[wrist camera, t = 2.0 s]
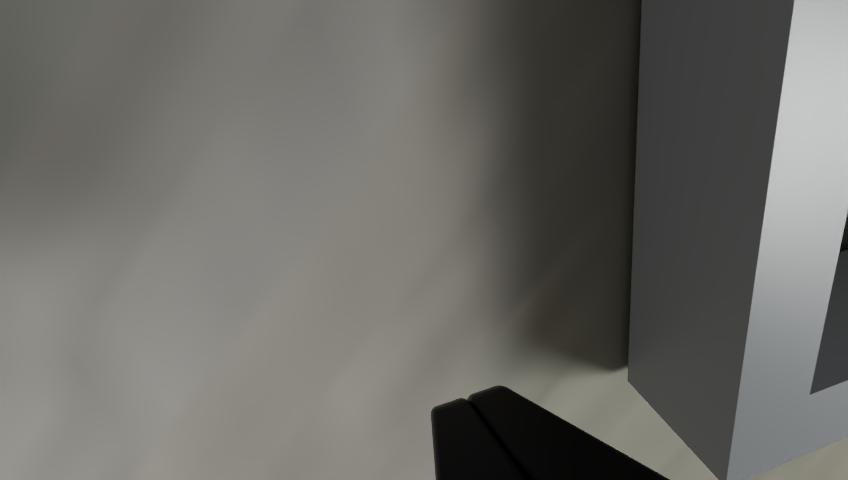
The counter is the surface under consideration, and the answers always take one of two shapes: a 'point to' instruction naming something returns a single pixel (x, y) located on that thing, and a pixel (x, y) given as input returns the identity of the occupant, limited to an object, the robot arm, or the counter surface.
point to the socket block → (742, 228)
